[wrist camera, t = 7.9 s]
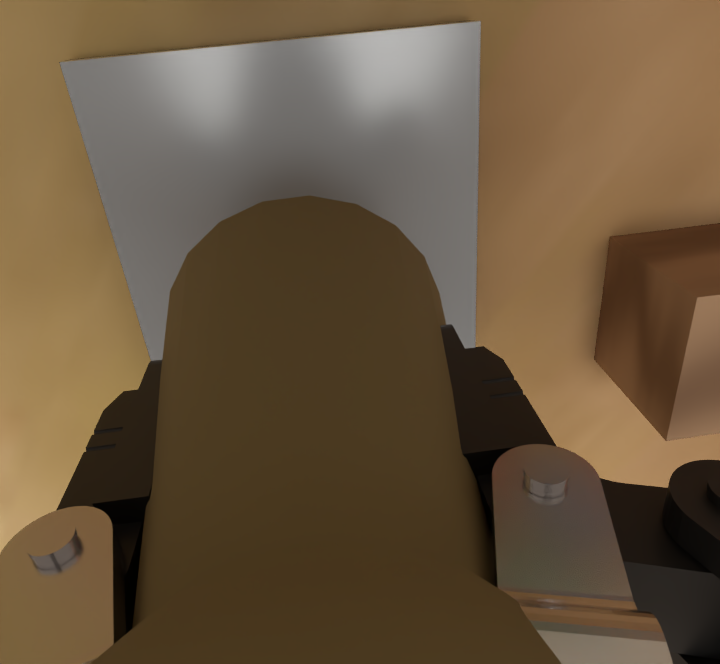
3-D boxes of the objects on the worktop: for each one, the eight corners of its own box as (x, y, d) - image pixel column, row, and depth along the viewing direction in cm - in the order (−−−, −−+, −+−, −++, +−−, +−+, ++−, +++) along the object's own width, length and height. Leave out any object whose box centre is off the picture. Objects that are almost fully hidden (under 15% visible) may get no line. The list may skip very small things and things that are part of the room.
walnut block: (608, 236, 20) (697, 297, 16) (747, 218, 20) (871, 274, 16) (593, 358, 22) (666, 441, 18) (717, 341, 23) (818, 419, 18)
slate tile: (72, 59, 16) (59, 62, 15) (470, 20, 16) (480, 21, 15) (170, 391, 21) (165, 408, 20) (467, 353, 22) (474, 368, 21)
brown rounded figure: (426, 435, 15) (684, 1232, 5) (180, 441, 14) (-64, 1382, 4) (458, 199, 12) (1190, 1004, 2) (151, 191, 11) (-750, 1332, 1)
